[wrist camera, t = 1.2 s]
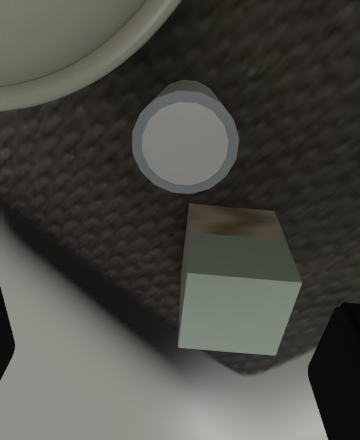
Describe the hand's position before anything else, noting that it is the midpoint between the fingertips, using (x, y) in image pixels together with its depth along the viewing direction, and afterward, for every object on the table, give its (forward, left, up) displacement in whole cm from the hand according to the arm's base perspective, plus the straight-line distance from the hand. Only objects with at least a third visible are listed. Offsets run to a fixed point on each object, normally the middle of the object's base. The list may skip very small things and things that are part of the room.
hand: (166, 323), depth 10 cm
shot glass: (0, 0, -21) cm, 21 cm away
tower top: (-5, +12, -16) cm, 21 cm away
